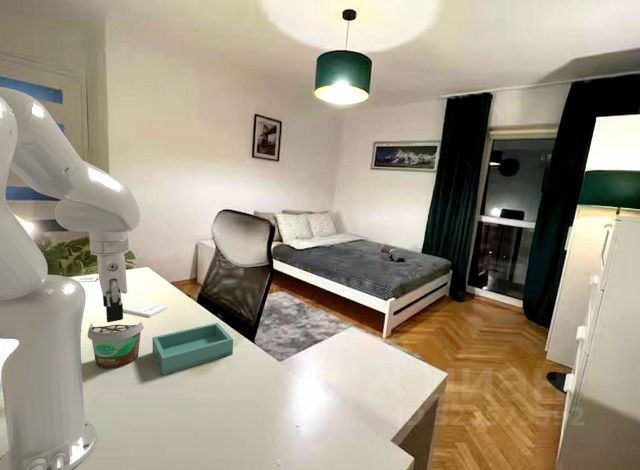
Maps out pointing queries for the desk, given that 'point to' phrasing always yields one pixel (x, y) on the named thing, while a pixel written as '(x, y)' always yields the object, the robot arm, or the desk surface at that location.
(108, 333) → the food container
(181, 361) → the bin
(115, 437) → the desk surface
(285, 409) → the desk surface
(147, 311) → the external hard drive
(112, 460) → the desk surface
